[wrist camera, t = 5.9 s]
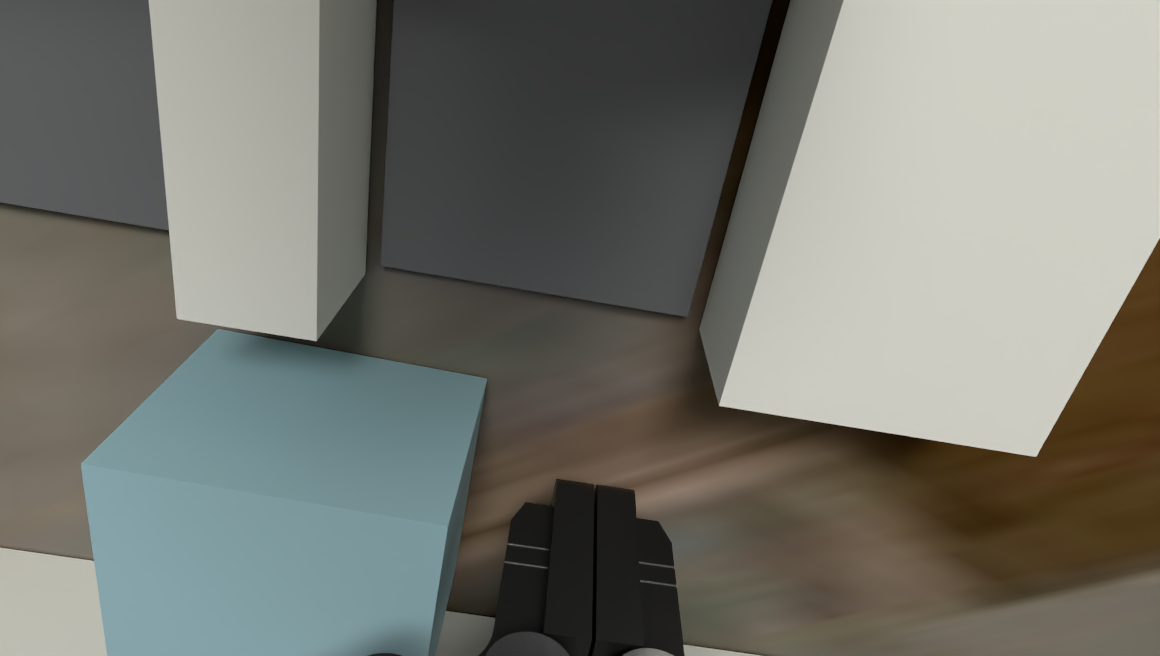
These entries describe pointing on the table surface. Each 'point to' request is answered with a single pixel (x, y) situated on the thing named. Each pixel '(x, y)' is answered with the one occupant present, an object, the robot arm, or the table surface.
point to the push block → (283, 504)
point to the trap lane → (622, 189)
